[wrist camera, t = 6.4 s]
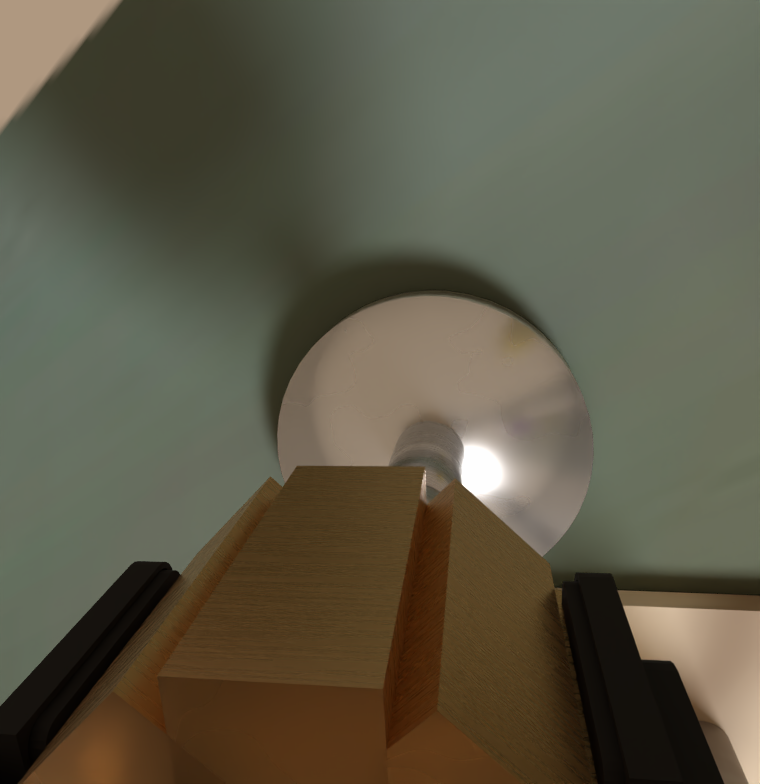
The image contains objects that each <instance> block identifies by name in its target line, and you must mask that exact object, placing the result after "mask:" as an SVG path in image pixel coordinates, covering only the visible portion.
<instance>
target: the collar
mask: <svg viewBox="0 0 760 784" xmlns="http://www.w3.org/2000/svg"><path fill="white" fill-rule="evenodd" d="M18 784H598V783H597V778H596V773H595V768H594V763H593V758H592V753H591V748H590V743H589V738H588V733H587V728H586V723H585V718H584V713H583V708H582V703H581V698H580V693H579V688H578V683H577V678H576V673H575V668H574V663H573V658H572V653H571V648H570V643H569V638H568V633H567V628H566V623H565V618H564V613H563V608H562V590H555V588H554V583H553V578H552V573H551V568H550V564H549V563H548V562H547V561H546V560H545V559H544V558H543V557H542V556H541V555H539V554H538V553H537V552H536V551H535V550H534V549H533V548H532V547H531V546H530V545H528V544H527V543H526V542H525V541H524V540H523V539H522V538H521V537H520V536H519V535H517V534H516V533H515V532H514V531H513V530H512V529H511V528H510V527H509V526H508V525H506V524H505V523H504V522H503V521H502V520H501V519H500V518H499V517H498V516H497V515H495V514H494V513H493V512H492V511H491V510H490V509H489V508H488V507H487V506H485V505H484V504H483V503H482V502H481V501H480V500H479V499H478V498H477V497H476V496H474V495H473V494H472V493H471V492H470V491H469V490H468V489H467V488H466V487H465V486H463V485H462V484H461V483H460V482H459V481H458V480H457V479H456V478H455V479H454V480H453V481H452V482H451V483H449V484H448V485H447V486H446V487H445V488H444V489H443V490H442V491H441V492H440V493H439V494H438V495H437V496H435V497H434V498H433V499H432V500H431V501H430V502H429V503H428V504H427V501H426V472H425V466H296V468H295V469H294V471H293V472H292V474H291V475H290V477H289V478H288V480H287V481H286V483H285V484H284V486H283V487H282V486H281V485H279V484H278V483H277V482H276V481H275V480H274V479H273V478H272V477H269V478H268V479H267V481H266V482H265V483H264V484H263V485H262V486H261V487H260V488H259V489H258V490H257V491H256V492H255V493H254V494H253V495H252V496H251V497H250V498H249V500H248V501H247V502H246V503H245V504H244V505H243V506H242V507H241V508H240V509H239V510H238V511H237V512H236V513H235V514H234V515H233V516H232V517H231V519H230V520H229V521H228V522H227V523H226V524H225V525H224V526H223V527H222V528H221V529H220V530H219V531H218V532H217V533H216V534H215V535H214V537H213V538H212V539H211V540H210V541H209V542H208V543H207V544H206V545H205V546H204V547H203V548H202V549H201V550H200V551H199V552H198V553H197V555H196V556H195V557H194V558H193V560H192V561H191V562H190V563H189V565H188V566H187V567H186V569H185V570H184V571H183V572H182V574H181V575H180V576H179V578H178V579H177V580H176V581H175V583H174V584H173V585H172V587H171V588H170V589H169V590H168V592H167V593H166V594H165V596H164V597H163V598H162V599H161V601H160V602H159V603H158V605H157V606H156V607H155V608H154V610H153V611H152V612H151V614H150V615H149V616H148V617H147V619H146V620H145V621H144V622H143V624H142V625H141V626H140V628H139V629H138V630H137V631H136V633H135V634H134V635H133V637H132V638H131V639H130V640H129V642H128V643H127V644H126V646H125V647H124V648H123V649H122V651H121V652H120V653H119V655H118V656H117V657H116V658H115V660H114V661H113V662H112V664H111V665H110V666H109V667H108V669H107V670H106V671H105V673H104V674H103V675H102V676H101V678H100V679H99V680H98V681H97V683H96V684H95V685H94V687H93V688H92V689H91V690H90V692H89V693H88V694H87V696H86V697H85V698H84V699H83V701H82V702H81V703H80V705H79V706H78V707H77V708H76V710H75V711H74V712H73V714H72V715H71V716H70V717H69V719H68V720H67V721H66V723H65V724H64V725H63V726H62V728H61V729H60V730H59V732H58V733H57V734H56V735H55V737H54V738H53V739H52V741H51V742H50V743H49V744H48V746H47V747H46V748H45V749H44V751H43V752H42V753H41V755H40V756H39V757H38V758H37V760H36V761H35V762H34V764H33V765H32V766H31V767H30V769H29V770H28V771H27V773H26V774H25V775H24V776H23V778H22V779H21V780H20V782H19V783H18Z"/></svg>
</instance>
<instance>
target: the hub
mask: <svg viewBox="0 0 760 784" xmlns="http://www.w3.org/2000/svg"><path fill="white" fill-rule="evenodd" d="M277 441H278V456H279V462H280V467H281V472H282V475H283V479H284V482H285V483H286V481H287V480H288V478H289V477H290V475H291V474H292V472H293V471H294V469H295V468H296V466H425V472H426V501H427V504H428V503H429V502H430V501H431V500H432V499H433V498H434V497H435V496H437V495H438V494H439V493H440V492H441V491H442V490H443V489H444V488H445V487H446V486H447V485H448V484H449V483H451V482H452V481H453V480H454V479H455V478H456V479H457V480H458V481H459V482H460V483H461V484H462V485H463V486H465V487H466V488H467V489H468V490H469V491H470V492H471V493H472V494H473V495H474V496H476V497H477V498H478V499H479V500H480V501H481V502H482V503H483V504H484V505H485V506H487V507H488V508H489V509H490V510H491V511H492V512H493V513H494V514H495V515H497V516H498V517H499V518H500V519H501V520H502V521H503V522H504V523H505V524H506V525H508V526H509V527H510V528H511V529H512V530H513V531H514V532H515V533H516V534H517V535H519V536H520V537H521V538H522V539H523V540H524V541H525V542H526V543H527V544H528V545H530V546H531V547H532V548H533V549H534V550H535V551H536V552H537V553H538V554H539V555H541V556H542V557H543V556H544V555H545V554H546V553H547V552H548V551H549V550H550V549H551V548H552V547H553V546H554V545H555V544H556V543H557V542H558V541H559V540H560V539H561V537H562V536H563V535H564V534H565V532H566V531H567V530H568V529H569V527H570V526H571V524H572V522H573V521H574V519H575V517H576V516H577V514H578V512H579V510H580V508H581V505H582V503H583V501H584V498H585V496H586V494H587V490H588V486H589V482H590V478H591V474H592V465H593V456H594V452H593V433H592V427H591V422H590V417H589V413H588V410H587V407H586V404H585V401H584V398H583V395H582V393H581V391H580V388H579V386H578V384H577V382H576V380H575V378H574V376H573V374H572V372H571V370H570V368H569V366H568V364H567V363H566V361H565V360H564V358H563V357H562V356H561V354H560V353H559V351H558V350H557V348H556V347H555V346H554V345H553V344H552V343H551V342H550V341H549V340H548V339H547V337H546V336H545V335H544V334H543V333H542V332H541V331H539V330H538V329H537V328H536V327H534V326H533V325H532V324H531V323H530V322H528V321H527V320H526V319H524V318H523V317H521V316H519V315H518V314H516V313H515V312H513V311H511V310H510V309H508V308H506V307H504V306H501V305H499V304H497V303H495V302H492V301H490V300H487V299H484V298H481V297H477V296H474V295H471V294H466V293H460V292H454V291H443V290H423V291H413V292H405V293H401V294H397V295H393V296H388V297H385V298H383V299H380V300H377V301H375V302H372V303H370V304H367V305H366V306H364V307H362V308H360V309H358V310H356V311H355V312H353V313H351V314H350V315H348V316H347V317H346V318H344V319H343V320H342V321H340V322H339V323H337V324H336V325H335V326H334V327H333V328H332V329H330V330H329V331H328V332H327V333H326V334H325V335H324V336H323V337H322V338H321V339H320V340H319V341H318V342H317V343H316V344H315V345H314V346H313V347H312V348H311V349H310V350H309V352H308V353H307V354H306V356H305V357H304V358H303V360H302V361H301V362H300V364H299V365H298V367H297V369H296V371H295V372H294V374H293V376H292V378H291V380H290V382H289V385H288V387H287V390H286V392H285V395H284V397H283V401H282V405H281V410H280V414H279V421H278V432H277Z"/></svg>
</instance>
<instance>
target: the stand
mask: <svg viewBox="0 0 760 784" xmlns="http://www.w3.org/2000/svg"><path fill="white" fill-rule="evenodd" d="M555 590H562V588H555ZM618 593H619V596H620V599H621V602H622V605H623V608H624V611H625V614H626V617H627V619H628V622H629V625H630V628H631V631H632V634H633V637H634V640H635V643H636V646H637V648H638V651H639V654H640V657H641V660H663V661H671V662H673V663H674V664H675V666H676V668H677V670H678V672H679V675H680V677H681V680H682V682H683V684H684V687H685V689H686V692H687V694H688V697H689V699H690V701H691V704H692V706H693V709H694V711H695V713H696V716H697V718H698V721H699V723H700V726H701V728H702V730H703V733H704V735H705V738H706V740H707V743H708V745H709V747H710V750H711V752H712V755H713V757H714V760H715V762H716V764H717V767H718V769H719V772H720V774H721V777H722V779H723V781H724V784H760V596H757V595H731V594H704V593H678V592H651V591H625V590H618Z"/></svg>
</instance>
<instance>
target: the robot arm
mask: <svg viewBox="0 0 760 784" xmlns="http://www.w3.org/2000/svg"><path fill="white" fill-rule="evenodd" d="M179 576H180V574H179V572H178V571H174V570H172V567H171V566H170V564H169V563H167V562H145V561H137V562H134V563H133V564H131V565H130V566H129V567H128V569H127V570H126V571H125V572H124V573H123V574H122V575H121V576H120V577H119V578H118V579H117V580H116V582H115V583H114V584H113V585H112V586H111V587H110V588H109V589H108V590H107V591H106V592H105V593H104V595H103V596H102V597H101V598H100V599H99V600H98V601H97V602H96V603H95V604H94V605H93V606H92V608H91V609H90V610H89V611H88V612H87V613H86V614H85V615H84V616H83V617H82V618H81V619H80V621H79V622H78V623H77V624H76V625H75V626H74V627H73V628H72V629H71V630H70V631H69V632H68V634H67V635H66V636H65V637H64V638H63V639H62V640H61V641H60V642H59V643H58V644H57V645H56V647H55V648H54V649H53V650H52V651H51V652H50V653H49V654H48V655H47V656H46V657H45V658H44V660H43V661H42V662H41V663H40V664H39V665H38V666H37V667H36V668H35V669H34V670H33V671H32V673H31V674H30V675H29V676H28V677H27V678H26V679H25V680H24V681H23V682H22V683H21V684H20V686H19V687H18V688H17V689H16V690H15V691H14V692H13V693H12V694H11V695H10V696H9V697H8V699H7V700H6V701H5V702H4V703H3V704H2V705H1V706H0V784H18V783H19V782H20V780H21V779H22V778H23V776H24V775H25V774H26V773H27V771H28V770H29V769H30V767H31V766H32V765H33V764H34V762H35V761H36V760H37V758H38V757H39V756H40V755H41V753H42V752H43V751H44V749H45V748H46V747H47V746H48V744H49V743H50V742H51V741H52V739H53V738H54V737H55V735H56V734H57V733H58V732H59V730H60V729H61V728H62V726H63V725H64V724H65V723H66V721H67V720H68V719H69V717H70V716H71V715H72V714H73V712H74V711H75V710H76V708H77V707H78V706H79V705H80V703H81V702H82V701H83V699H84V698H85V697H86V696H87V694H88V693H89V692H90V690H91V689H92V688H93V687H94V685H95V684H96V683H97V681H98V680H99V679H100V678H101V676H102V675H103V674H104V673H105V671H106V670H107V669H108V667H109V666H110V665H111V664H112V662H113V661H114V660H115V658H116V657H117V656H118V655H119V653H120V652H121V651H122V649H123V648H124V647H125V646H126V644H127V643H128V642H129V640H130V639H131V638H132V637H133V635H134V634H135V633H136V631H137V630H138V629H139V628H140V626H141V625H142V624H143V622H144V621H145V620H146V619H147V617H148V616H149V615H150V614H151V612H152V611H153V610H154V608H155V607H156V606H157V605H158V603H159V602H160V601H161V599H162V598H163V597H164V596H165V594H166V593H167V592H168V590H169V589H170V588H171V587H172V585H173V584H174V583H175V581H176V580H177V579H178V578H179ZM562 608H563V613H564V618H565V623H566V628H567V633H568V638H569V643H570V648H571V653H572V658H573V663H574V668H575V673H576V678H577V683H578V688H579V693H580V698H581V703H582V708H583V713H584V718H585V723H586V728H587V733H588V738H589V743H590V748H591V753H592V758H593V763H594V768H595V773H596V778H597V783H598V784H724V781H723V779H722V777H721V774H720V772H719V769H718V767H717V764H716V762H715V760H714V757H713V755H712V752H711V750H710V747H709V745H708V743H707V740H706V738H705V735H704V733H703V730H702V728H701V726H700V723H699V721H698V718H697V716H696V713H695V711H694V709H693V706H692V704H691V701H690V699H689V697H688V694H687V692H686V689H685V687H684V684H683V682H682V680H681V677H680V675H679V672H678V670H677V668H676V666H675V664H674V663H673V662H671V661H663V660H641V657H640V654H639V651H638V648H637V646H636V643H635V640H634V637H633V634H632V631H631V628H630V625H629V622H628V619H627V617H626V614H625V611H624V608H623V605H622V602H621V599H620V596H619V593H618V590H617V587H616V585H615V582H614V579H613V576H612V574H610V573H576V574H575V579H574V582H570V581H563V584H562Z"/></svg>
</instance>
